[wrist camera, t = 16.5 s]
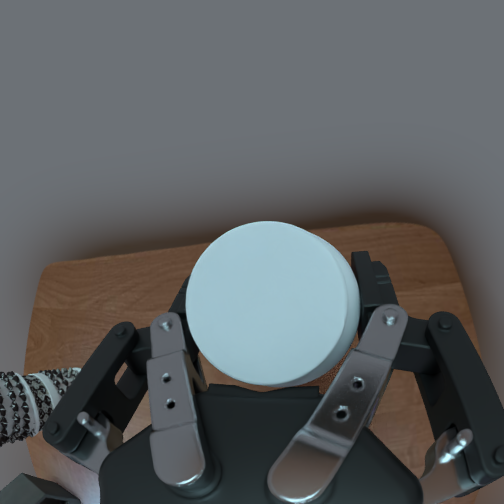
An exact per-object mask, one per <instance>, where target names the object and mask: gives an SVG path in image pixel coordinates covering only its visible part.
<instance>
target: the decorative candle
mask: <svg viewBox="0 0 504 504" xmlns="http://www.w3.org/2000/svg"><path fill="white" fill-rule="evenodd" d="M80 371H81V369H80V368H78V367H77V368H69V371H68V370H67V369H66V368H62V370H61V371H60V370H59V369H57V370H54V369H53V370H52V371H51V370H44V371H39V373H37V374H29V375H28V376H20V375H19V374H18V373H14V372H13V371H12V372H8V373H7V375H5V373H4V372H0V447H2V444H5V443H6V442H11V443H14V442H15V440H19V441H23V438H27V437H28V436H31V437H33V436H35V435H36V434H37V433H38V432H39V431H42V430H43V426H44V424H45V422H46V420H47V419H48V417H49V416H50V414H51V413H52V411H53V410H54V408H55V407H56V405H57V404H58V402H59V401H60V399H61V398H62V396H63V395H64V393H65V392H66V391H67V389H68V388H69V386H70V385H71V383H72V382H73V380H74V379H75V378H76V376H77V375H78V373H79V372H80ZM19 434H20V436H18V435H19ZM10 436H11V437H10Z"/></svg>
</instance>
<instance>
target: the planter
mask: <svg viewBox="0 0 504 504" xmlns="http://www.w3.org/2000/svg"><path fill="white" fill-rule="evenodd" d="M0 504H81V503H80V500H79V499H78V498H76V497H75V496H73V495H72V494H70V493H69V492H67V491H66V490H65V489H63V488H62V487H61V486H59V485H58V484H57V483H55V482H52V481H48V480H44V479H41V478H37V477H33V476H30V475H27V474H24V473H21V474H20V475H19V476H18V477H16V478H15V479H14V480H13V481H12V482H10V483H9V484H8V485H7V486H6V487H5V488H3V489H2V490H1V491H0Z"/></svg>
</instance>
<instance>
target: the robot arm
mask: <svg viewBox="0 0 504 504" xmlns="http://www.w3.org/2000/svg"><path fill="white" fill-rule="evenodd" d="M351 269H352V271H353V273H354V276H355V278H356V281H357V284H358V288H359V293H360V304H361V309H360V319H359V325H358V329H357V330H358V338H359V343H358V345H357V347H356V348H355V349H354V348H352V349H351V350H350V352H349V353H348V355H347V357H346V359H345V361H344V362H343V364H342V366H341V368H340V370H339V371H338V373H337V375H336V377H335V378H334V380H333V382H332V383H331V385H330V387H329V388H328V390H327V392H326V393H325V395H323V394H319V386H304V387H287V388H282V389H278V390H273V391H268V392H257V391H253V390H249V389H246V388H242V387H239V386H236V385H223V384H209V387H208V388H207V384H206V380H205V377H204V373H203V369H202V365H201V361H200V357H199V355H198V353H199V348H198V346H197V345H196V343H195V341H194V339H193V337H192V334H191V332H190V329H189V325H188V321H187V315H186V292H187V287H188V283H189V279H190V276H191V275H190V276H189V277H188V278H187V279H185V281H184V283H183V285H182V288H181V289H180V290H179V292H178V293H179V294H177V296H176V298H175V300H174V302H173V304H172V306H171V308H170V309H169V311H168V313H164V314H161V315H159V316H158V317H156V318H155V319H154V320H153V322H152V323H151V326H150V327H146V328H141V329H136V328H135V327H134V325H133V324H132V323H131V322H121V323H119V324H117V325H115V326H114V327H113V328H112V329H111V330H110V331H109V333H108V334H107V335H106V337H105V338H104V339H103V341H102V342H101V343H100V345H99V346H98V347H97V349H96V350H95V351H94V353H93V354H92V355H91V357H90V358H89V359H88V361H87V362H86V364H85V365H84V366H83V368H82V369H81V371H80V372H79V373H78V375H77V376H76V378H75V379H74V380H73V382H72V383H71V385H70V386H69V388H68V389H67V391H66V392H65V393H64V395H63V396H62V398H61V399H60V401H59V402H58V404H57V405H56V407H55V408H54V410H53V411H52V413H51V414H50V416H49V417H48V419H47V420H46V422H45V424H44V426H43V437H44V439H45V441H46V442H47V443H49V444H50V445H52V446H53V447H54V448H56V449H57V450H59V452H61V453H62V454H63V455H65V456H67V457H68V458H70V459H71V460H73V461H74V462H76V463H78V464H81V465H82V466H84V467H86V468H88V469H89V470H92V471H94V472H95V473H97V474H98V475H99V486H100V504H438V503H440V502H443V501H445V500H447V499H450V498H452V497H463V496H465V495H468V494H470V493H472V492H474V491H476V490H478V489H480V488H482V487H484V486H486V485H488V484H490V483H492V482H493V481H495V480H497V479H499V478H501V477H502V476H504V409H503V407H502V404H501V402H500V400H499V397H498V395H497V392H496V390H495V388H494V386H493V383H492V382H491V379H490V377H489V375H488V373H487V371H486V369H485V367H484V365H483V363H482V361H481V359H480V357H479V355H478V353H477V351H476V349H475V347H474V345H473V344H472V342H471V340H470V338H469V336H468V335H467V333H466V331H465V329H464V327H463V326H462V324H461V322H460V321H459V319H458V318H457V317H456V316H455V315H453V314H451V313H449V312H437V313H434V314H433V315H431V317H430V318H429V320H422V319H416V318H412V317H410V316H408V315H407V313H406V311H405V310H404V309H403V308H402V307H400V306H399V304H398V301H397V298H396V294H395V291H394V288H393V285H392V283H391V280H390V277H389V274H388V271H387V268H386V267H385V266H384V265H383V264H382V263H381V262H380V261H374V262H371V260H370V256H369V253H368V251H359V252H352V254H351ZM124 362H125V363H126V365H127V366H128V367H127V369H126V371H125V372H124V374H123V375H122V377H121V378H120V380H119V381H118V383H117V385H115V381H114V379H115V375H116V374H117V372H118V371H119V369H120V368H121V366H122V365H123V363H124ZM394 369H398V370H404V371H411V372H413V373H414V375H415V378H416V381H417V384H418V387H419V390H420V393H421V396H422V399H423V402H424V405H425V408H426V411H427V415H428V418H429V421H430V425H431V428H432V432H433V435H434V439H435V442H434V443H433V444H432V445H431V446H430V447H429V449H428V450H427V452H426V455H425V470H424V473H423V475H422V476H421V478H420V479H417V477H416V476H415V475H414V474H413V473H412V472H411V471H410V470H409V469H408V468H407V467H406V466H405V465H404V464H403V463H402V462H401V461H400V460H399V459H398V458H397V457H396V456H395V455H394V454H393V453H392V452H391V451H390V450H389V449H388V448H387V447H386V446H385V445H384V444H383V443H382V442H381V441H380V440H379V439H378V438H377V437H376V436H375V435H374V433H373V432H372V431H371V430H370V429H369V426H370V424H371V421H372V419H373V417H374V415H375V413H376V411H377V408H378V406H379V403H380V401H381V399H382V397H383V394H384V392H385V390H386V387H387V385H388V382H389V380H390V378H391V375H392V373H393V370H394ZM147 390H148V392H149V403H150V413H151V421H152V424H150V425H149V426H148V427H146V428H145V429H144V430H142V431H141V432H139V433H138V434H136V435H135V436H134V437H132V438H131V439H129V440H128V441H126V442H125V443H123V432H124V430H125V429H126V427H127V425H128V423H129V421H130V420H131V418H132V416H133V414H134V413H135V411H136V409H137V407H138V406H139V404H140V402H141V400H142V399H143V397H144V395H145V393H146V392H147Z"/></svg>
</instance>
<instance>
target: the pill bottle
mask: <svg viewBox="0 0 504 504" xmlns="http://www.w3.org/2000/svg"><path fill="white" fill-rule="evenodd" d="M360 309H361V304H360V293H359V288H358V284H357V281H356V278H355V276H354V273H353V271H352V269H351V268H350V266H349V264H348V263H347V261H346V260H345V258H344V257H343V256H342V255H341V253H340V252H339V251H337V250H336V249H335V248H334V247H333V246H332V245H331V244H329V243H328V242H327V241H325V240H323V239H322V238H320V237H318V236H316V235H314V234H312V233H309V232H307V231H305V230H303V229H301V228H299V227H296V226H294V225H290V224H286V223H281V222H270V221H265V222H254V223H249V224H246V225H243V226H239V227H237V228H234V229H232V230H230V231H228V232H226V233H225V234H223V235H222V236H220V237H219V238H218V239H217V240H215V241H214V242H213V243H212V244H211V245H210V246H209V247H208V248H207V249H206V250H205V251H204V253H203V254H202V255H201V257H200V258H199V260H198V261H197V263H196V265H195V267H194V269H193V271H192V274H191V276H190V279H189V283H188V287H187V292H186V315H187V321H188V325H189V329H190V332H191V334H192V337H193V339H194V341H195V343H196V345H197V346H198V348H199V350H200V351H201V353H202V354H203V355H204V357H205V358H206V359H207V360H208V361H209V362H210V363H211V364H212V365H214V366H215V367H216V368H217V369H218V370H220V371H221V372H223V373H224V374H226V375H228V376H230V377H232V378H234V379H236V380H238V381H242V382H245V383H249V384H255V385H264V386H269V387H290V386H296V385H301V384H304V383H307V382H310V381H312V380H314V379H316V378H318V377H320V376H322V375H323V374H325V373H326V372H328V371H329V370H331V369H332V368H333V367H334V366H335V365H336V364H337V363H338V362H339V361H340V360H341V359H342V358H343V356H344V355H345V354H346V352H347V351H348V349H349V348H350V346H351V344H352V342H353V340H354V337H355V335H356V332H357V329H358V325H359V319H360Z"/></svg>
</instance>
